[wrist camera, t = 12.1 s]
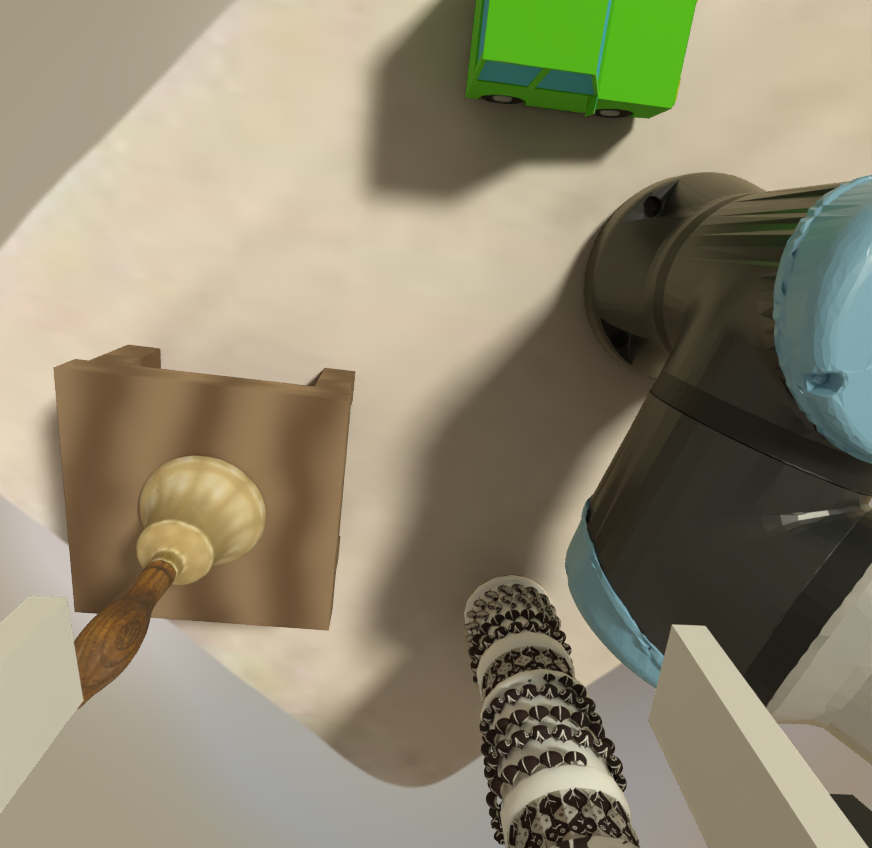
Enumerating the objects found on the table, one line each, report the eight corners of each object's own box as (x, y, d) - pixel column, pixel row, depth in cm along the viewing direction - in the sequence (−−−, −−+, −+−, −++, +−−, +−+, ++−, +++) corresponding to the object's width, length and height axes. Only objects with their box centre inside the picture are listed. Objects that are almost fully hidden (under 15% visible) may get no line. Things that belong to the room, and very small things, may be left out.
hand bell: (239, 580, 40) (138, 794, 24) (124, 535, 38) (-61, 735, 23) (286, 486, 37) (206, 657, 22) (165, 433, 36) (-9, 580, 21)
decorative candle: (443, 635, 53) (475, 957, 30) (485, 557, 51) (558, 843, 27) (526, 663, 55) (620, 989, 31) (572, 590, 52) (711, 885, 29)
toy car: (643, 141, 40) (717, 113, 31) (461, 117, 39) (480, 81, 29) (678, -29, 37) (772, -119, 27) (480, -60, 36) (508, -165, 26)
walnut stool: (359, 368, 44) (348, 400, 36) (341, 562, 50) (328, 630, 41) (123, 340, 42) (53, 367, 34) (132, 544, 48) (74, 612, 40)
